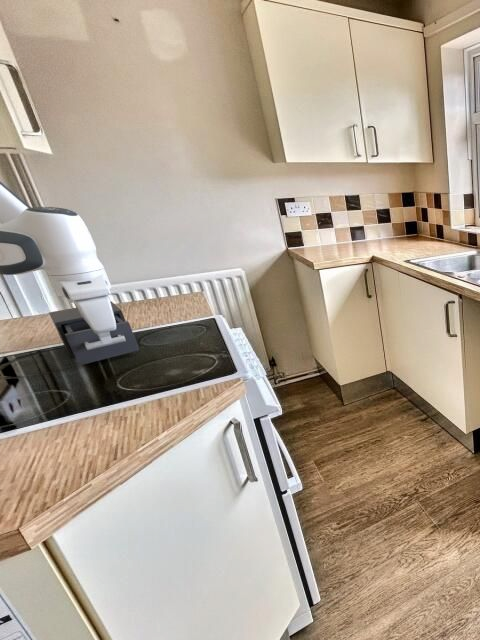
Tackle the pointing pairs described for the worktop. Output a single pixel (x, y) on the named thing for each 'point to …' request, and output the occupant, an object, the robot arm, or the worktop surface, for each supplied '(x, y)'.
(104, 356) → the drawer
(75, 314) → the cabinet
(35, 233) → the robot arm
